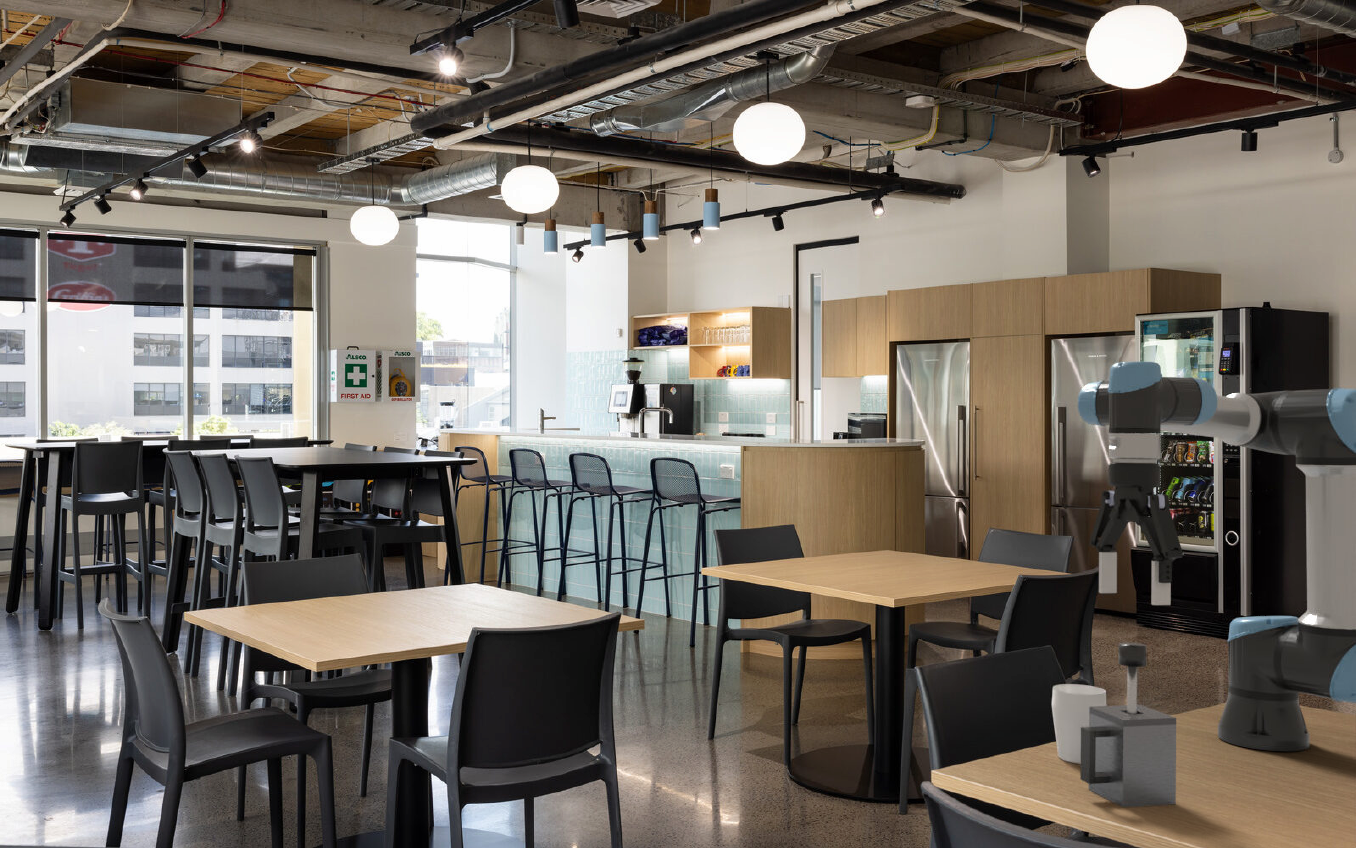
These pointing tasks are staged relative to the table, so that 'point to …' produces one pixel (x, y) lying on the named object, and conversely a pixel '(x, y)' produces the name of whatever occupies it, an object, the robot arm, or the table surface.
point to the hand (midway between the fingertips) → (1133, 598)
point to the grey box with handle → (1130, 755)
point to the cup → (1073, 716)
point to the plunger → (1132, 670)
